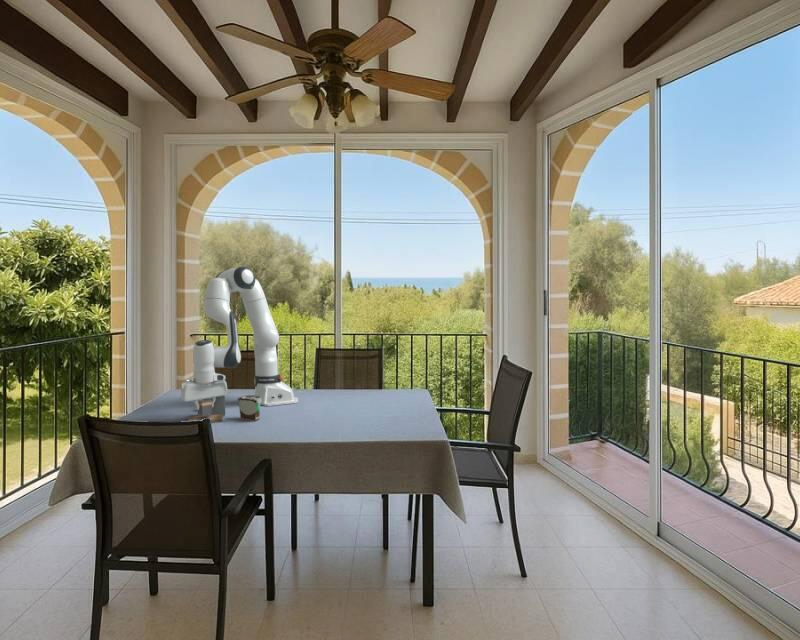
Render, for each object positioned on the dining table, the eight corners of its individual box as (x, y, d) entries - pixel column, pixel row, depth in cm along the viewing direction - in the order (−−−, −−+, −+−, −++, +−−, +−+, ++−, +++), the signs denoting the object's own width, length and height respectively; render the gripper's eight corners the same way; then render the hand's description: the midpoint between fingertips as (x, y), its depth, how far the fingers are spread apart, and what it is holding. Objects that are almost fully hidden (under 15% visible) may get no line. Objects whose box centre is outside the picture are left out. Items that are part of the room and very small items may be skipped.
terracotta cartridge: (212, 414, 236) (211, 400, 235) (202, 416, 232) (202, 402, 232) (207, 412, 239) (206, 399, 238) (197, 414, 235) (197, 400, 235)
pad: (222, 416, 242) (222, 414, 242) (222, 422, 233) (222, 419, 233) (189, 419, 238) (189, 416, 238) (187, 424, 229) (187, 421, 229)
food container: (268, 418, 239) (267, 396, 238) (257, 421, 233) (257, 399, 233) (248, 415, 245) (247, 393, 244) (238, 418, 240) (237, 396, 239)
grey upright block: (225, 412, 250) (224, 389, 249) (225, 415, 244) (224, 392, 243) (211, 413, 248) (211, 390, 248) (211, 416, 242) (210, 392, 242)
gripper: (184, 381, 225) (185, 413, 226) (228, 375, 240) (229, 405, 241) (177, 379, 229) (178, 411, 230) (221, 373, 244) (222, 403, 245)
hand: (204, 408), depth 235 cm, fingers closed on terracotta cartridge, 4 cm apart
